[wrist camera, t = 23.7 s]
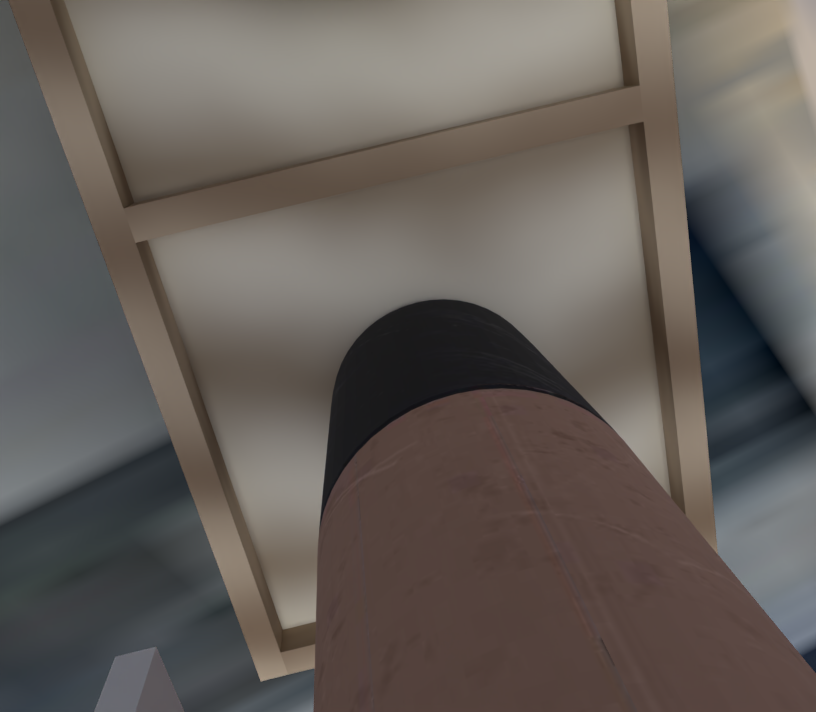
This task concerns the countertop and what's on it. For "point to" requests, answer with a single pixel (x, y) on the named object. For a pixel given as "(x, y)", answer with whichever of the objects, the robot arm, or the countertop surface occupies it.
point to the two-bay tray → (373, 228)
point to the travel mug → (515, 546)
